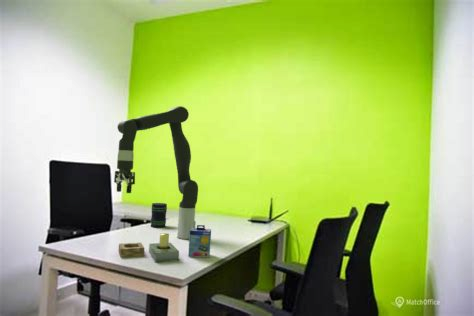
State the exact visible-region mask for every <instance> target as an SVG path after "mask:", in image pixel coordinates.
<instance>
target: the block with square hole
mask: <svg viewBox="0 0 474 316" xmlns="http://www.w3.org/2000/svg"><path fill="white" fill-rule="evenodd" d="M148 253H149V255H150V257H151V258H152V260H153V261H154V263H165V262H179V259H180V251H179V249H177V248H176V246H175V245H173V243H172V242H169V243H168V249H159V242H158V243H149V244H148Z"/></svg>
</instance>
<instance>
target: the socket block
mask: <svg viewBox="0 0 474 316" xmlns="http://www.w3.org/2000/svg"><path fill="white" fill-rule="evenodd" d="M118 255H119V257H120V258H130V257H144V255H145V246H144V245H143V243H142V242H127V243H125V242H124V243H119V244H118Z"/></svg>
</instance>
